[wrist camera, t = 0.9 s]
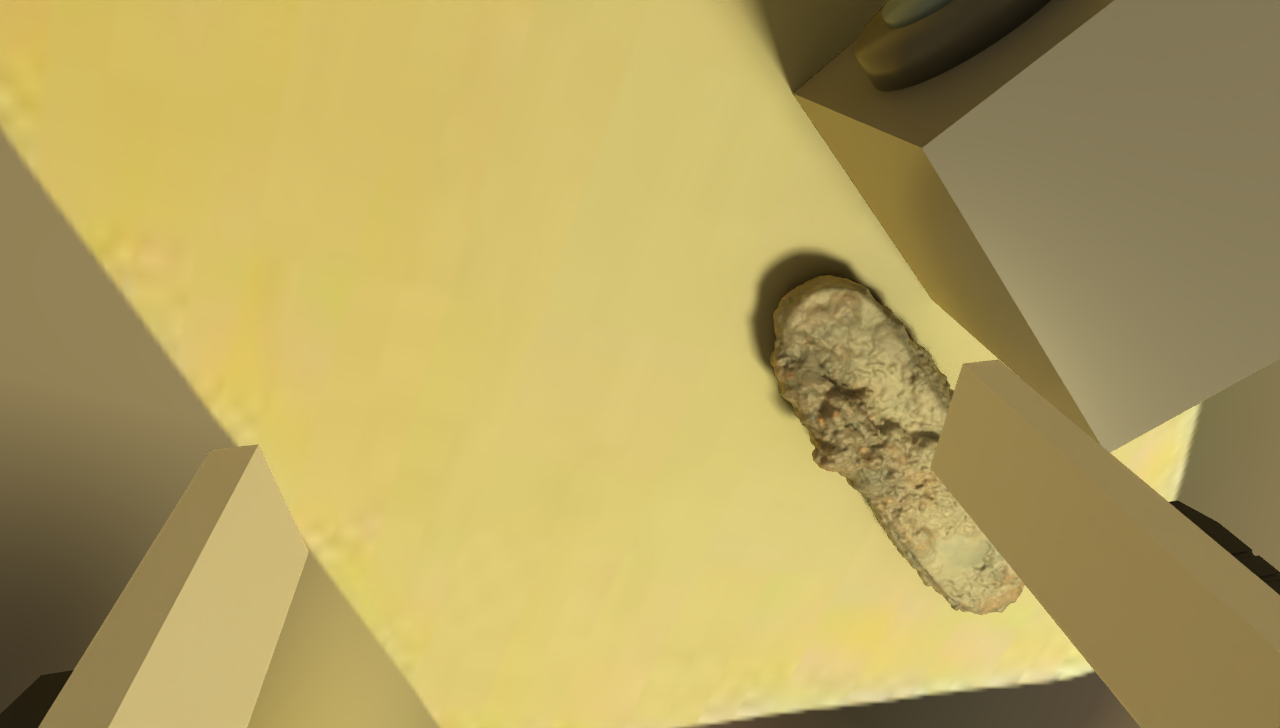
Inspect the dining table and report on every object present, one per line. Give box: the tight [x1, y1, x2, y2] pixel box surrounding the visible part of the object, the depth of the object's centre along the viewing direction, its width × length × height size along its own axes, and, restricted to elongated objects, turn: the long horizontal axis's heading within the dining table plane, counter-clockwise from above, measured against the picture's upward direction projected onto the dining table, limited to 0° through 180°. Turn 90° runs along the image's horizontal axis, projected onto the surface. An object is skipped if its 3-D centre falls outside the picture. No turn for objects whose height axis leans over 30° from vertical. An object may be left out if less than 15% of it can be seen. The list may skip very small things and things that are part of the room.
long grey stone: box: [770, 275, 1025, 615], centre depth 44 cm, size 35×5×10 cm
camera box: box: [793, 0, 1280, 453], centre depth 27 cm, size 18×12×16 cm
